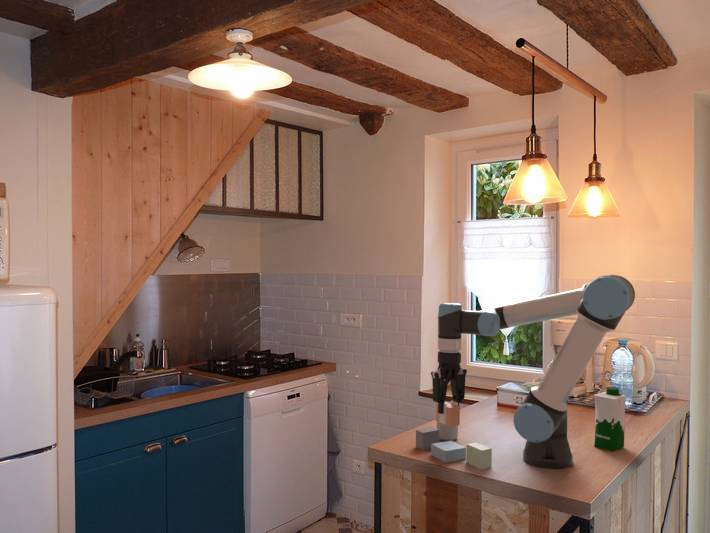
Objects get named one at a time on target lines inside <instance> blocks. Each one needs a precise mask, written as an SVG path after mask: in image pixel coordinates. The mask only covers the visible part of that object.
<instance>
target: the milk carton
mask: <svg viewBox="0 0 710 533" xmlns="http://www.w3.org/2000/svg"><path fill="white" fill-rule="evenodd" d="M593 397H594V404H595V407H594V408H595V412H594V416H595V419H594V420H595V421H594V424H595V425H594V446H593V447H594V448H598V449H602V450H605V451H610V452H612V453H613V452H614V451H615V452H616V450H617V451H619V450H622V449H624V448H625V427H626V426H625V425H626V424H625V418H626V417H625V416H626V414H625V413H626V412H625V410H626V399H627V396H626V395H625V394H620V388H618V387H615V386H609V387H608V386H607V387H606V391H603V392H599V393H598V392H597V394H594V395H593ZM623 447H624V448H623ZM621 448H622V449H621Z"/></svg>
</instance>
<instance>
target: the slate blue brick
mask: <svg viewBox="0 0 710 533" xmlns="http://www.w3.org/2000/svg"><path fill="white" fill-rule="evenodd" d="M430 454H431V456H432V457H434V458H436V459H437V458H438V459H437V460H439V459H440V460H439V461H441V462H443V463H445V462H447V463H452V462H451V461H453V462H457V461H456V460H458V461H462V460H461V459H464V460H466V454H467V446H463V445H461V444H459V443H457V442H455V441H454V440H453V441H443V442H442V441H441V442H440V441H439V443H434V444H431V449H430Z"/></svg>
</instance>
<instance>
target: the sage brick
mask: <svg viewBox="0 0 710 533" xmlns="http://www.w3.org/2000/svg"><path fill="white" fill-rule="evenodd" d="M492 451H493V448H492V447H489V446H487V445H484V444H482V443H479V442H476V441H475V442H471V443H466V459H465V462H467V463H466V464H468V463H469V464H468V465H470V464H471V465H470V466H472V465H473V466H472V467H475V468H478V469H479V470H486V469H490V468H492V465H493V464H492V463H493V462H492V461H493V460H492V459H493V458H492V457H493V456H492V454H493V453H492Z"/></svg>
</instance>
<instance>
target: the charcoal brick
mask: <svg viewBox="0 0 710 533" xmlns="http://www.w3.org/2000/svg"><path fill="white" fill-rule="evenodd" d="M434 443H440V439H439V429H437V427H433V426H430V427H424V428H420V429H419V428H417V429H415V448H416V449H419V450H421V451H428V450H431V444H434Z"/></svg>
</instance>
